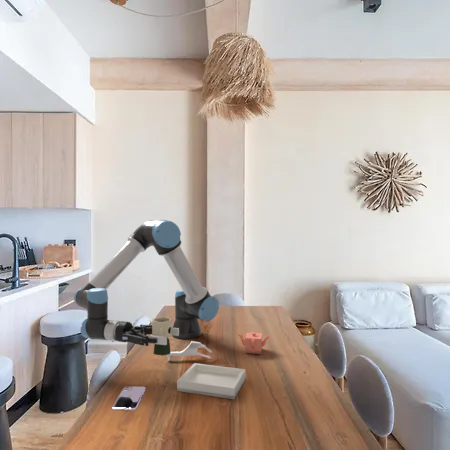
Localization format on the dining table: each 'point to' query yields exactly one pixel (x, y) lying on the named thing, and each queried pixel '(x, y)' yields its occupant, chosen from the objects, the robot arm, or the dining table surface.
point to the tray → (212, 380)
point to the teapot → (253, 342)
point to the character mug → (162, 334)
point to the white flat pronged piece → (190, 351)
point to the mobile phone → (129, 398)
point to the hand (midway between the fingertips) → (172, 336)
